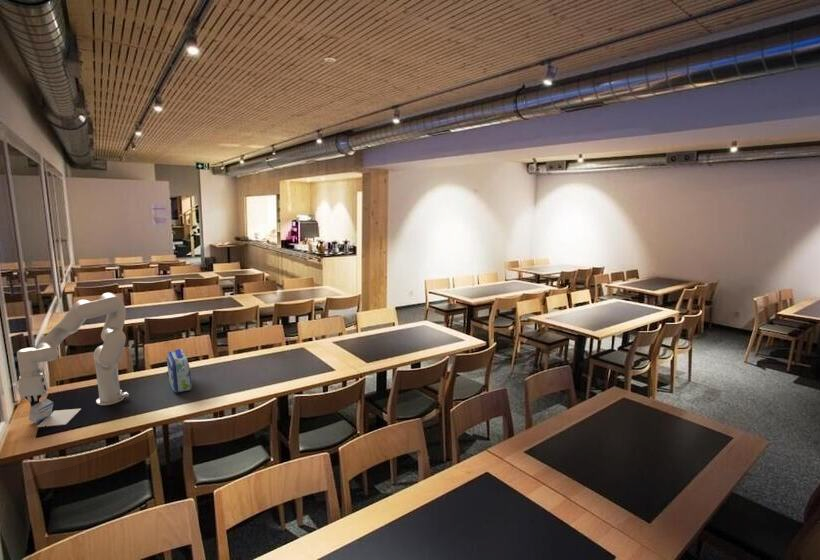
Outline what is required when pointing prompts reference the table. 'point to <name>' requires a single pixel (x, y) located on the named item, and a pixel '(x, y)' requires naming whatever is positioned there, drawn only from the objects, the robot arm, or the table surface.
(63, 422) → the mat
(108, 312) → the robot arm
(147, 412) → the table surface
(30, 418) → the medicine box
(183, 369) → the lunch box
